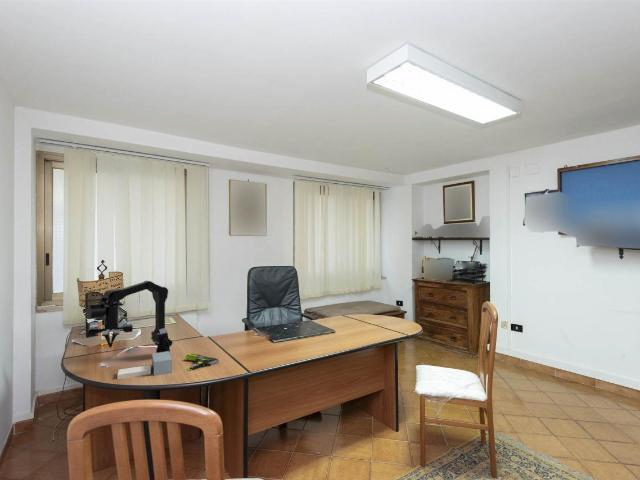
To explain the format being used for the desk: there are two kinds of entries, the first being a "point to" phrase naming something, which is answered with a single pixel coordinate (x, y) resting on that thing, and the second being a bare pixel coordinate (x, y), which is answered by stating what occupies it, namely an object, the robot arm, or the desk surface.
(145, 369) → the tile
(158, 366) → the overhang
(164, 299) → the robot arm
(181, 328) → the desk surface
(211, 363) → the toy gun
